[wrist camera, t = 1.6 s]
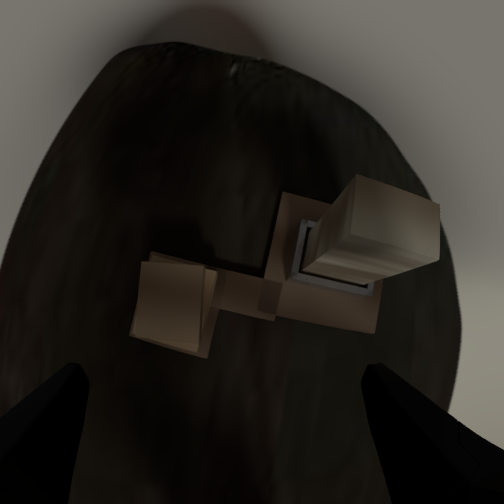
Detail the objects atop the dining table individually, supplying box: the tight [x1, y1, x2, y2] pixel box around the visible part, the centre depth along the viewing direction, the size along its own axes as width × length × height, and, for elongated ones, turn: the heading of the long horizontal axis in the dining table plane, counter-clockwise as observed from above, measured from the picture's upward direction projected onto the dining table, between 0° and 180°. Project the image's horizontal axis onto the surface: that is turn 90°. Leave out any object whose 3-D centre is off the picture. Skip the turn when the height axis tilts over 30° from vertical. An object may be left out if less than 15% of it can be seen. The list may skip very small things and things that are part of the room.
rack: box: [129, 192, 383, 359], centre depth 22 cm, size 14×19×3 cm
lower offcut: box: [132, 255, 218, 353], centre depth 21 cm, size 6×5×2 cm
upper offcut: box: [135, 261, 206, 344], centre depth 19 cm, size 5×4×2 cm
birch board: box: [298, 174, 440, 286], centre depth 18 cm, size 3×5×11 cm, turn 77°
